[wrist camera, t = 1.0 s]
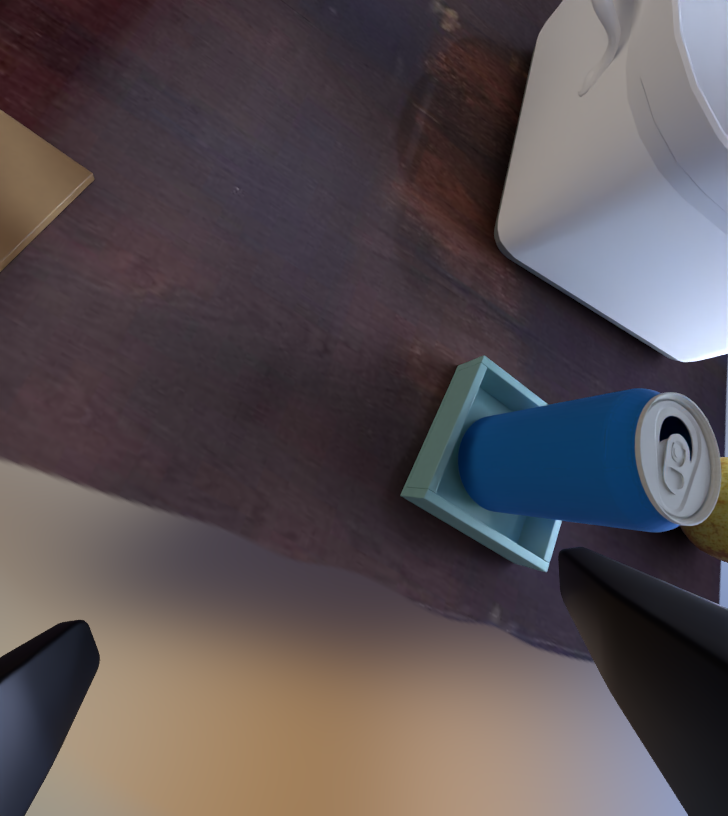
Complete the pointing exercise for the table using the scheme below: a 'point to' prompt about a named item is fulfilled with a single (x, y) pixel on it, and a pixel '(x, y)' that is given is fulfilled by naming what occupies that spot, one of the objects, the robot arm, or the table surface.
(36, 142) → the mat
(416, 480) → the pan
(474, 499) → the beverage can
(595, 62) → the white storage bin
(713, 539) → the fruit
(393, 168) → the table surface
